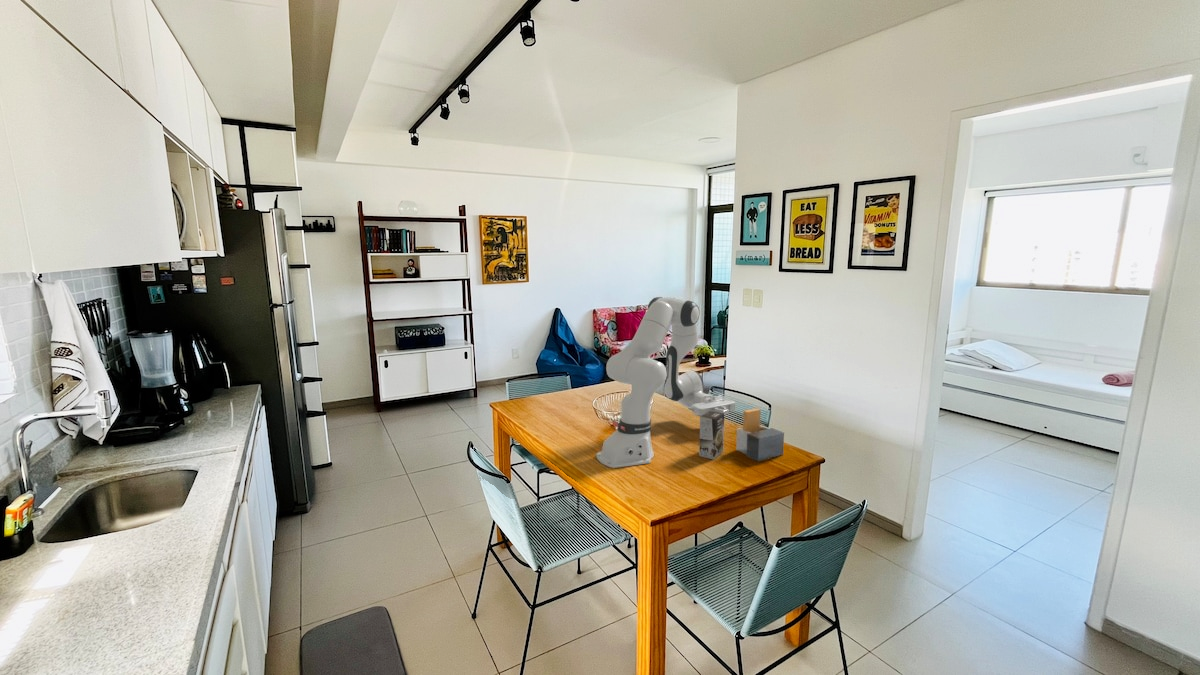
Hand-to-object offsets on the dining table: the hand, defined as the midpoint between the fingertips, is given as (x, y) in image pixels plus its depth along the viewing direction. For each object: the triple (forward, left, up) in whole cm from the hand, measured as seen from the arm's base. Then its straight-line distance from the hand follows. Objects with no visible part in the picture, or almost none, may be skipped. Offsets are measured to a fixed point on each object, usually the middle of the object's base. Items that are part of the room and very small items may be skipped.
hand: (726, 412), depth 206 cm
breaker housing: (0, -19, -11) cm, 22 cm away
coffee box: (-17, -11, -11) cm, 23 cm away
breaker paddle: (0, -15, -5) cm, 15 cm away
